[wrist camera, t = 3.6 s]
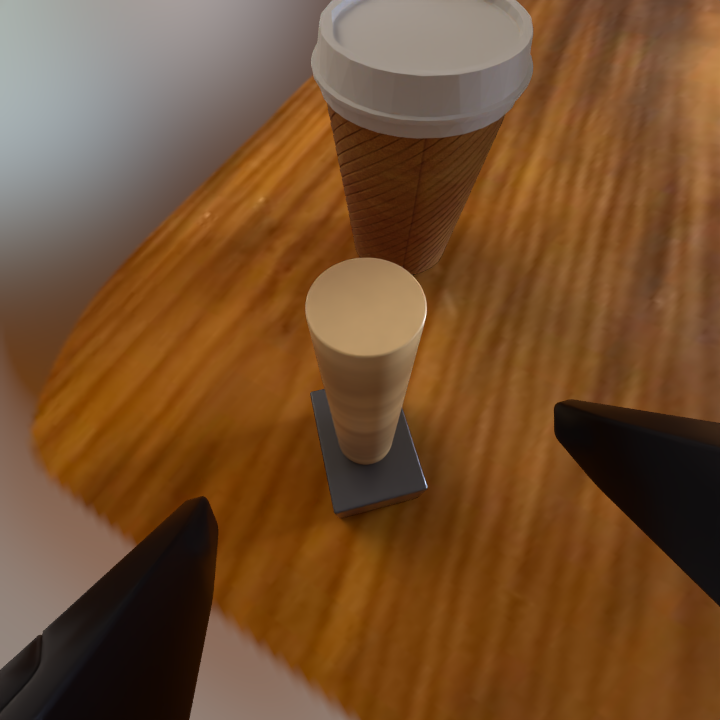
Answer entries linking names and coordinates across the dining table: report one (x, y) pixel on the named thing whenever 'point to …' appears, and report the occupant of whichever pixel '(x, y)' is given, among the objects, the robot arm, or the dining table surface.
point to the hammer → (366, 381)
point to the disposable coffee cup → (417, 111)
